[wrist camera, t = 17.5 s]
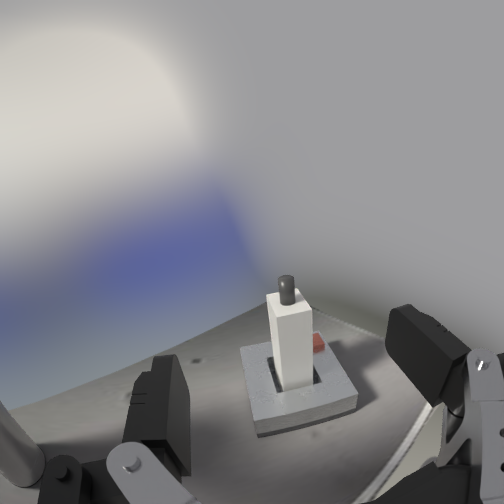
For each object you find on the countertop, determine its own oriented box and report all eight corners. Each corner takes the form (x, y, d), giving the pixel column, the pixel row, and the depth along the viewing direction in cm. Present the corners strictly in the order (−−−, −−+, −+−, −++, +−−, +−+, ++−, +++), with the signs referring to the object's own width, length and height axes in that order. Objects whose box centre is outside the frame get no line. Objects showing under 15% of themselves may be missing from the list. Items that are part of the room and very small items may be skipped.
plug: (284, 401, 34) (273, 292, 29) (275, 375, 39) (263, 272, 34) (312, 393, 35) (311, 285, 29) (301, 369, 40) (295, 266, 34)
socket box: (257, 437, 30) (253, 417, 28) (243, 365, 44) (238, 343, 42) (354, 412, 31) (359, 389, 29) (319, 349, 45) (319, 326, 44)
